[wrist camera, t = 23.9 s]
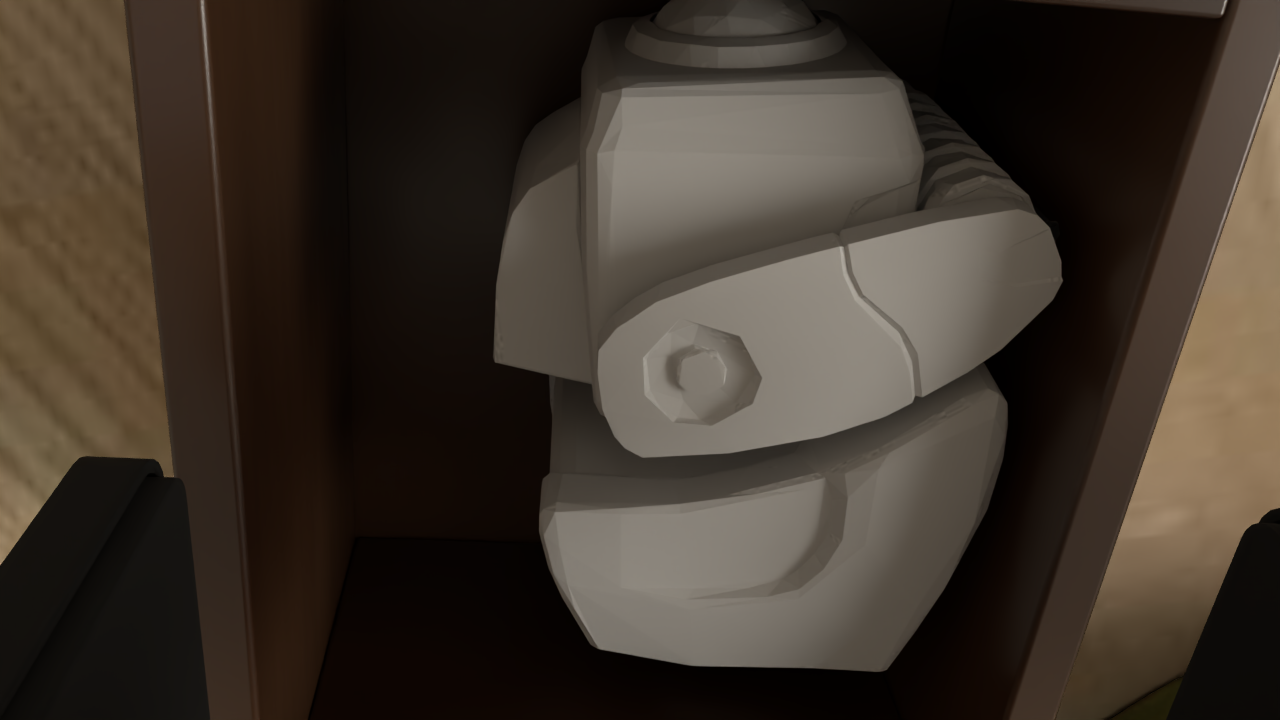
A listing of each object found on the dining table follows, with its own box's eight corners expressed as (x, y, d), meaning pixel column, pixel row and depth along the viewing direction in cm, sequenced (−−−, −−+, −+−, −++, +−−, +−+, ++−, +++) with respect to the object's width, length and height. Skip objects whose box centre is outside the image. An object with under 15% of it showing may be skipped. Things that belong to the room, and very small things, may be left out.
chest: (297, -182, 16) (101, -175, 9) (1004, -110, 17) (1324, -53, 10) (324, 542, 21) (215, 900, 14) (857, 560, 22) (996, 898, 15)
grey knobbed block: (951, -67, 16) (892, 498, 21) (492, -54, 16) (538, 512, 21) (1124, 17, 11) (992, 744, 16) (443, 39, 11) (521, 766, 15)
